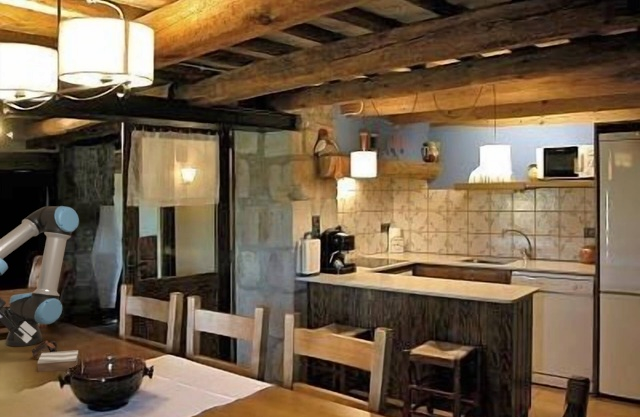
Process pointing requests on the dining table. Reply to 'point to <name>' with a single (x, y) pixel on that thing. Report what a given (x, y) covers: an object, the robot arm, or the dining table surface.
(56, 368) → the pale flat block
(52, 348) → the brown black arched figure
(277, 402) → the dining table surface
